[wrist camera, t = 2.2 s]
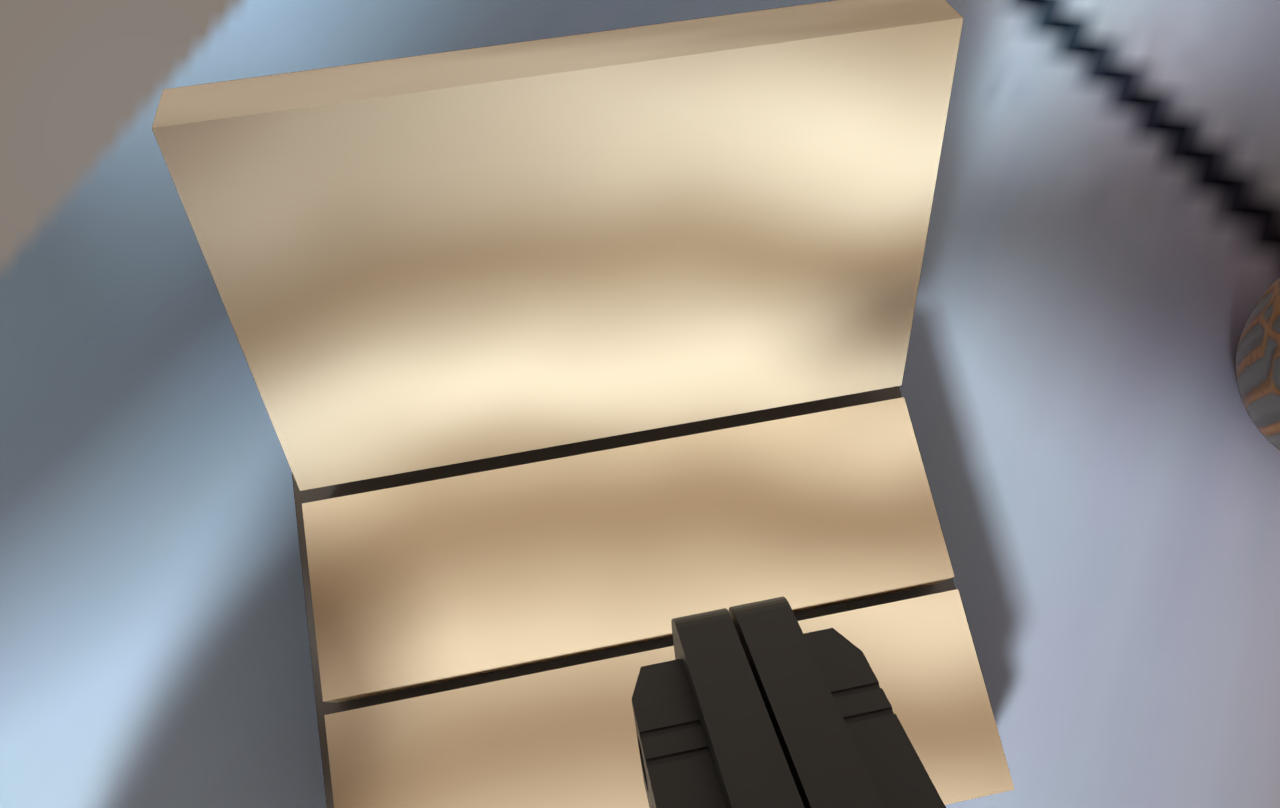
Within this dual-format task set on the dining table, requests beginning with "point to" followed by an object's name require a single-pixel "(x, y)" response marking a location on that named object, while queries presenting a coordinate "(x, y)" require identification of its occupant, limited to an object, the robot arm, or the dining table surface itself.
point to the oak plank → (570, 229)
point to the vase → (1262, 364)
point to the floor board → (621, 601)
